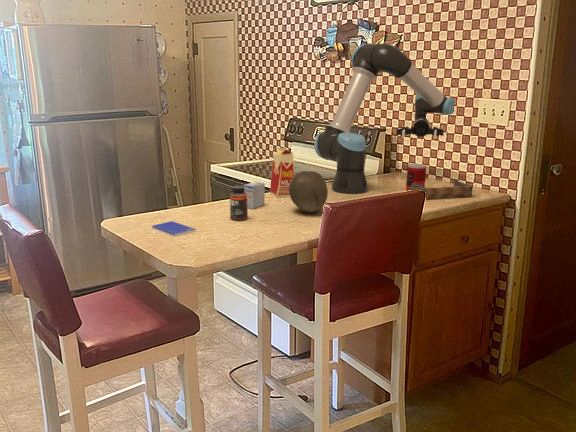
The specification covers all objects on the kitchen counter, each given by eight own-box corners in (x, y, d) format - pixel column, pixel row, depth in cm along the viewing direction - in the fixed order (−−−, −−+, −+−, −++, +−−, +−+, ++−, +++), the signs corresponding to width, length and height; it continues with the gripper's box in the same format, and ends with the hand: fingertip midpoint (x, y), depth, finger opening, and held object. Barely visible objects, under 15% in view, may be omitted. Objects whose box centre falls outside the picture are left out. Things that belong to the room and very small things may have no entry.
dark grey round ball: (330, 208, 212) (332, 169, 208) (322, 218, 199) (323, 176, 195) (293, 205, 216) (294, 166, 212) (283, 215, 202) (284, 173, 198)
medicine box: (255, 203, 218) (255, 181, 216) (264, 205, 216) (265, 182, 213) (243, 207, 211) (243, 185, 209) (253, 209, 209) (253, 186, 207)
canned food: (426, 190, 245) (429, 164, 242) (420, 193, 239) (422, 167, 236) (409, 187, 249) (411, 162, 246) (403, 191, 243) (404, 165, 240)
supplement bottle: (244, 215, 201) (244, 184, 198) (249, 220, 196) (249, 187, 192) (228, 217, 199) (227, 185, 196) (232, 221, 193) (232, 189, 190)
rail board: (423, 200, 228) (424, 189, 226) (410, 193, 238) (411, 183, 237) (471, 197, 234) (472, 186, 233) (456, 191, 244) (457, 180, 243)
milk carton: (297, 196, 230) (299, 146, 225) (276, 197, 227) (277, 147, 222) (289, 191, 238) (290, 143, 233) (268, 192, 235) (269, 144, 230)
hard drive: (195, 228, 182) (173, 220, 190) (174, 233, 176) (151, 225, 184) (196, 233, 182) (173, 225, 190) (174, 238, 176) (152, 230, 185)
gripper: (448, 136, 264) (448, 144, 245) (394, 135, 271) (389, 143, 251) (449, 119, 262) (449, 126, 242) (394, 119, 268) (389, 126, 249)
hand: (418, 135), depth 247 cm, fingers open, 13 cm apart
